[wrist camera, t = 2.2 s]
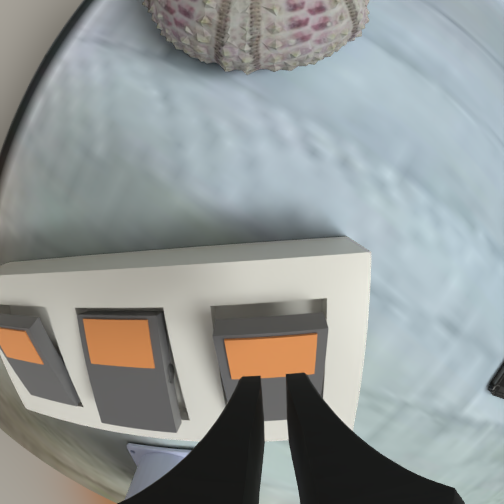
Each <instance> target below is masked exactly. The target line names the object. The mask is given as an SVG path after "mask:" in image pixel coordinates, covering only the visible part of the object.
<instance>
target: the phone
mask: <svg viewBox="0 0 504 504" xmlns="http://www.w3.org/2000/svg"><path fill="white" fill-rule="evenodd" d="M488 390H489V391H490V392H491V394H492V395H494V396H497V397H500V398H503V399H504V364H503V365H502V367H501V368H500V370H499V371H498V372H497V374H496V375H495V377H494V378H493V380H492V381H491V383H490V385H489V388H488Z"/></svg>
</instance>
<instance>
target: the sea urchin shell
mask: <svg viewBox="0 0 504 504" xmlns="http://www.w3.org/2000/svg"><path fill="white" fill-rule="evenodd" d="M368 3H369V0H144V2H143V3H142V4H143V5H144V6H146V7H147V8H148V12H149V13H152V20H153V21H154V22H156V23H157V28H158V29H160V30H161V34H160V35H162V36H165V37H166V40H167V41H168V42H172V43H173V45H174V46H175V48H176V49H179V50H183V51H184V52H185V53H187V54H188V55H189V56H190V57H193V58H198V59H199V60H200V61H201V62H203V61H204V62H205V63H206V64H207V63H212V62H214V63H217V64H219V65H220V66H221V67H222V68H223V69H224V70H225V72H227V71H228V72H229V71H232V70H242V71H243V72H244V73H246V74H247V75H248V74H250V73H252V72H254V71H256V70H259V69H268V70H271V71H273V72H275V71H278V70H281V69H282V70H288V71H292V70H293V69H295V68H296V67H297V66H307V65H308V64H314V65H315V64H316V63H317V61H319V60H321V59H324V57H331V55H332V54H333V53H334V52H338V50H339V49H340V48H341V47H342V46H344V45H346V44H347V42H349V41H354V40H355V37H360V36H362V29H364V28H365V24H366V23H368V22H369V18H368V16H367V15H368V14H369V11H368V9H367V4H368Z"/></svg>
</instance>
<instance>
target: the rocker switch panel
mask: <svg viewBox="0 0 504 504" xmlns="http://www.w3.org/2000/svg"><path fill="white" fill-rule="evenodd" d="M370 278H371V252H370V251H369V250H367V249H366V248H364V247H363V246H361V245H360V244H358V243H357V242H355V241H354V240H352V239H350V238H349V237H347V236H345V237H330V238H314V239H299V240H284V241H269V242H255V243H241V244H227V245H213V246H199V247H186V248H173V249H160V250H147V251H134V252H122V253H109V254H97V255H85V256H73V257H62V258H50V259H39V260H27V261H16V262H8V263H6V264H3V265H1V266H0V314H9V315H20V316H33V317H39V318H40V320H41V322H42V324H43V326H44V328H45V330H46V332H47V334H48V336H49V338H50V340H51V342H52V344H53V346H54V348H55V349H56V351H57V353H58V354H61V355H62V357H63V360H64V362H65V367H66V369H67V370H68V373H69V375H70V377H71V380H72V382H73V385H74V387H75V389H76V391H77V394H78V396H79V398H80V401H79V403H78V406H72V405H68V404H64V403H59V402H55V401H52V400H48V399H44V398H40V397H37V396H33V395H31V394H30V393H29V392H28V390H27V389H26V387H25V386H24V385H23V383H22V382H21V380H20V379H19V377H18V376H17V374H16V373H15V371H14V370H13V368H12V367H11V365H10V364H9V362H8V361H7V359H6V357H5V356H4V354H3V352H2V351H1V349H0V355H1V358H2V360H3V362H4V365H5V367H6V369H7V371H8V374H9V376H10V378H11V380H12V382H13V384H14V386H15V388H16V390H17V392H18V394H19V396H20V398H21V400H22V402H23V404H24V406H25V408H26V409H28V410H31V411H34V412H37V413H41V414H44V415H47V416H50V417H54V418H57V419H61V420H64V421H68V422H72V423H76V424H80V425H84V426H89V427H93V428H98V429H103V430H108V431H113V432H119V433H125V434H131V435H138V436H145V437H153V438H162V439H172V440H184V441H201V440H202V439H203V437H204V436H205V435H206V434H207V432H208V431H209V430H210V428H211V427H212V426H213V424H214V423H215V422H216V420H217V419H218V417H219V416H220V414H221V413H222V411H223V410H224V408H225V406H226V405H227V403H228V402H227V398H226V394H225V390H224V386H223V381H222V377H221V373H220V368H219V364H218V359H217V355H216V350H215V346H214V341H213V336H212V335H213V330H214V324H215V319H230V318H250V317H266V316H281V315H294V314H306V313H317V312H324V315H325V318H326V322H327V325H328V339H327V349H326V359H325V368H324V376H323V384H322V392H321V397H322V398H323V399H324V401H325V402H326V403H327V404H328V405H329V407H330V408H331V409H332V410H333V411H334V413H335V414H336V415H337V416H338V417H339V418H340V419H341V420H342V421H343V422H344V423H345V424H346V425H347V426H348V427H349V428H350V429H351V430H352V431H353V427H354V422H355V416H356V411H357V405H358V399H359V393H360V386H361V379H362V372H363V364H364V356H365V347H366V337H367V326H368V313H369V298H370ZM86 311H164V315H165V323H166V331H167V338H168V345H169V352H170V359H171V363H172V365H173V367H174V384H175V389H176V395H177V400H178V406H179V411H180V416H181V421H182V423H181V425H180V427H179V429H178V432H177V433H171V432H160V431H151V430H143V429H135V428H128V427H122V426H116V425H110V424H105V423H102V422H101V419H100V416H99V412H98V409H97V406H96V402H95V399H94V395H93V391H92V387H91V384H90V380H89V375H88V371H87V367H86V362H85V358H84V353H83V348H82V343H81V338H80V332H79V326H78V320H77V315H78V314H80V313H83V312H86ZM264 435H265V442H266V441H283V440H289V439H288V426H287V420H276V421H264Z"/></svg>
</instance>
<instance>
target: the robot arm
mask: <svg viewBox="0 0 504 504" xmlns="http://www.w3.org/2000/svg"><path fill="white" fill-rule="evenodd" d="M286 404H287V426H288V439H289V445H290V450H291V455H292V460H293V465H294V470H295V475H296V480H297V485H298V490H299V497H300V504H465V503H464V501H463V500H462V498H461V497H460V495H459V494H458V493H457V491H456V490H455V488H453V487H449V486H446V485H443V484H440V483H438V482H435V481H432V480H429V479H426V478H424V477H422V476H419V475H417V474H415V473H413V472H411V471H409V470H407V469H405V468H403V467H402V466H400V465H398V464H397V463H395V462H393V461H392V460H390V459H388V458H387V457H385V456H383V455H382V454H380V453H379V452H378V451H376V450H375V449H374V448H372V447H371V446H370V445H368V444H367V443H366V442H365V441H363V440H362V439H361V438H360V437H359V436H357V435H356V434H355V433H354V432H353V431H352V430H351V429H350V428H349V427H348V426H347V425H346V424H345V423H344V422H343V421H342V420H341V419H340V418H339V417H338V416H337V415H336V414H335V413H334V411H333V410H332V409H331V408H330V407H329V405H328V404H327V403H326V402H325V401H324V399H323V398H322V397H321V395H320V394H319V393H318V391H317V390H316V388H315V387H314V385H313V384H312V382H311V381H310V379H309V377H308V375H307V374H306V373H304V372H303V373H292V374H286ZM264 444H265V435H264V411H263V398H262V386H261V376H242V377H241V378H240V379H239V381H238V384H237V386H236V388H235V390H234V392H233V394H232V396H231V398H230V400H229V402H228V403H227V405H226V406H225V408H224V410H223V411H222V413H221V414H220V416H219V417H218V419H217V420H216V422H215V423H214V424H213V426H212V427H211V428H210V430H209V431H208V432H207V434H206V435H205V436H204V437H203V439H202V440H201V441H200V442H199V443H198V444H197V445H196V446H195V448H194V449H193V450H183V449H172V448H162V447H154V446H147V445H140V444H133V443H128V444H127V446H126V447H127V449H128V451H129V453H130V455H131V457H132V458H133V460H134V462H135V464H136V465H137V469H136V472H135V474H134V477H133V479H132V482H131V485H130V487H129V490H128V492H127V495H126V498H125V500H124V501H122V502H120V503H118V504H259V491H260V482H261V473H262V464H263V454H264Z"/></svg>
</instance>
